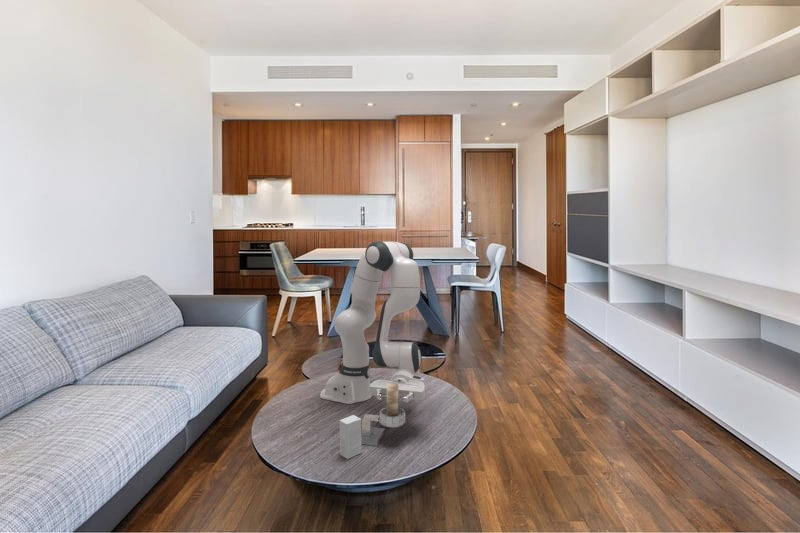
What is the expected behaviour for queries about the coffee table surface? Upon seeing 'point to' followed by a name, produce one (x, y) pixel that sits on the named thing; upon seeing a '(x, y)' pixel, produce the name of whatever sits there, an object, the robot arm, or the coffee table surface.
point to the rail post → (392, 399)
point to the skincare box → (350, 436)
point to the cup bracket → (374, 434)
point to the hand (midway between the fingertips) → (391, 398)
